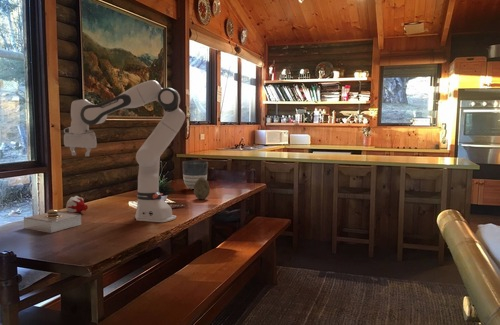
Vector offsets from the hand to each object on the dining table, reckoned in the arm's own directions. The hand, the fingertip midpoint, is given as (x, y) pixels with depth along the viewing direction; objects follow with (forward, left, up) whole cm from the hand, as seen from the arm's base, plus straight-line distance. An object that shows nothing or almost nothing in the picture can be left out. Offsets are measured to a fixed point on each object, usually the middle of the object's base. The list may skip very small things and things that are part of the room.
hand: (80, 155), depth 224 cm
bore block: (-4, +22, -33) cm, 40 cm away
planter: (-4, -110, -33) cm, 115 cm away
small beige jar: (-4, +22, -33) cm, 40 cm away
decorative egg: (-30, -76, -33) cm, 88 cm away
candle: (+10, -6, -33) cm, 35 cm away
